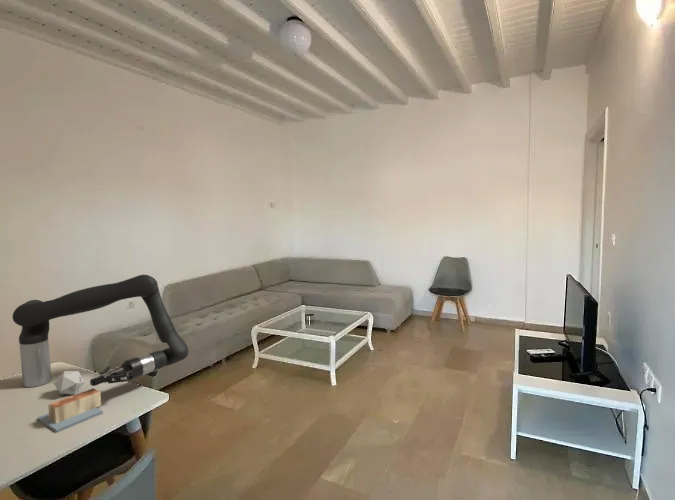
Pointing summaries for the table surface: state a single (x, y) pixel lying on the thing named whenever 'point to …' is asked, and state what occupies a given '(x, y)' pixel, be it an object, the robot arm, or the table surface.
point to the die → (69, 382)
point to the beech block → (74, 405)
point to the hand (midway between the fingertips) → (91, 383)
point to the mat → (70, 421)
